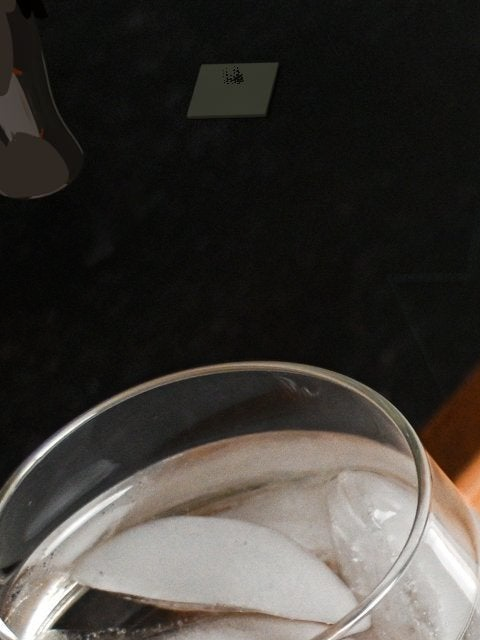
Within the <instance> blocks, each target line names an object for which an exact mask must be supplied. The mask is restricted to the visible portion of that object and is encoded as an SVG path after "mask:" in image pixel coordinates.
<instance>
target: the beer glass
mask: <svg viewBox="0 0 480 640" xmlns="http://www.w3.org/2000/svg"><path fill="white" fill-rule="evenodd" d="M37 24H38V23H37V20H36V18H35V16H34V14H33V12H32V9H31V7H30V4H29V2H28V0H0V196H2V197H4V198H8V199H10V200H11V199H12V200H19V201H28V200H37V199H42V198H46V197H49V196H52V195H54V194H57V193H58V192H61V191H62V190H64V189H65V188H67V187H69V186H70V185H71V184H72V183H73V182H75V180H76V179H77V178H78V177H79V175H80V174H81V172H82V170H83V168H84V166H85V153H84V149H83V148H82V146H81V144H80V142H79V140H78V139H77V138H76V136H75V135H74V133H73V132H72V130H71V129H70V127H69V126H68V124H67V123H66V121H65V119H64V118H63V116H62V114H61V112H60V110H59V108H58V106H57V102H56V99H55V97H54V93H53V90H52V85H51V81H50V75H49V71H48V67H47V62H46V56H45V53H44V48H43V43H42V39H41V35H40V32H39V28H38V25H37Z"/></svg>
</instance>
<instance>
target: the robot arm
mask: <svg viewBox="0 0 480 640" xmlns="http://www.w3.org/2000/svg"><path fill="white" fill-rule="evenodd" d="M28 2H29V4H30V7H31V9H32V12H33V15H34V17H35V19H39V20H40V21H41V20H44V19H47V18H49V15H48V13H47V10H46V8H45V5H44V2H43V0H28Z"/></svg>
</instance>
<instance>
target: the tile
mask: <svg viewBox="0 0 480 640" xmlns="http://www.w3.org/2000/svg"><path fill="white" fill-rule="evenodd" d="M234 66H235V67H234ZM237 67H238V69H237ZM226 68H227V69H226ZM234 69H235V71H233V70H234ZM279 69H280V64H279V62H245V63H241V62H239V63H213V64H212V63H210V64H207V63H206V64H201V65H200V67H199V72H198V75H197V79H196V82H195V85H194V89H193V93H192V96H191V100H190V103H189V106H188V110H187V113H186V118H187V119H188V120H197V119H198V120H199V119H200V120H201V119H233V118H234V119H236V118H237V119H240V118H267V116H268V113H269V107H270V104H271V100H272V97H273V92H274V89H275V86H276V85H275V84H276V81H277V78H278V77H277V76H278V73H279ZM223 70H224V71H223ZM237 70H239V72H240V73H239V75H241V74H243V75H242V77H243V80H244V81H243V82H240V84H237V83H239V82H236V83H234V82H235V81H232V82H230V81H231V80H228V82H226V81H227V79H226V78H227V77H228V79H230V78H232V80H233V79H234V77H233V76H235V77H237V76H236V74H238V72H236V71H237ZM226 71H227V73H226ZM234 72H235V74H234ZM223 73H224V74H223ZM226 74H228V76H226ZM230 75H232V76H230ZM223 76H224V77H223ZM240 78H241V77H240ZM240 78H239V79H240ZM224 80H225V81H224ZM236 81H237V80H236ZM241 81H242V80H241ZM224 82H225V83H224ZM227 83H229V84H227ZM232 83H233V84H232Z"/></svg>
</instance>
